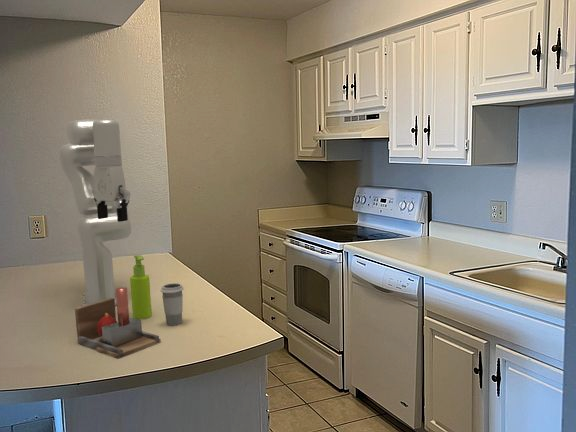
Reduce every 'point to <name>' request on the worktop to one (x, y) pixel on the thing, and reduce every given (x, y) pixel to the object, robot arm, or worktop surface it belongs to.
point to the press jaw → (122, 323)
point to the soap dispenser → (140, 291)
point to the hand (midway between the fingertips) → (112, 219)
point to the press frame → (88, 330)
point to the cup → (173, 303)
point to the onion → (105, 323)
